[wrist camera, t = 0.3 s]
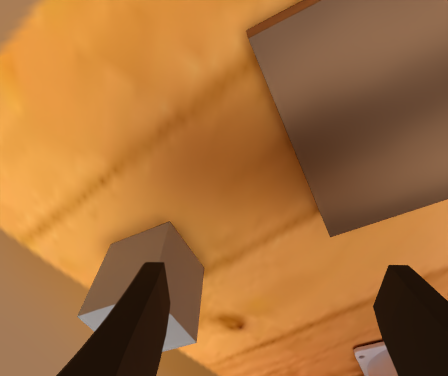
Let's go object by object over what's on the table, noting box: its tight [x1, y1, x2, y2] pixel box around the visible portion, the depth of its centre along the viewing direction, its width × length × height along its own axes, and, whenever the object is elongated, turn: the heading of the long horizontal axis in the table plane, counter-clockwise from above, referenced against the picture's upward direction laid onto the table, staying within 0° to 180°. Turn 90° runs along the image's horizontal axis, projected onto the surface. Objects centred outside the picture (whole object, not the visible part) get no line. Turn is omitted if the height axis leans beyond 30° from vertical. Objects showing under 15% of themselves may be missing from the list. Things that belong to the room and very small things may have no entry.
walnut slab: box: [246, 0, 448, 237], centre depth 16 cm, size 12×12×3 cm
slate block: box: [77, 222, 204, 352], centre depth 21 cm, size 5×5×6 cm
